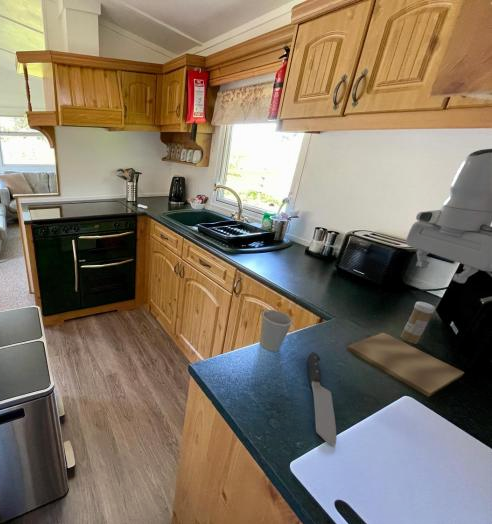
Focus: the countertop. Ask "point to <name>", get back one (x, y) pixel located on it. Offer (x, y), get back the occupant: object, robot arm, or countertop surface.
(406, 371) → the maple board
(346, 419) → the countertop surface
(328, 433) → the kitchen knife
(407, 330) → the sprinkles bottle
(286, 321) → the dixie cup
